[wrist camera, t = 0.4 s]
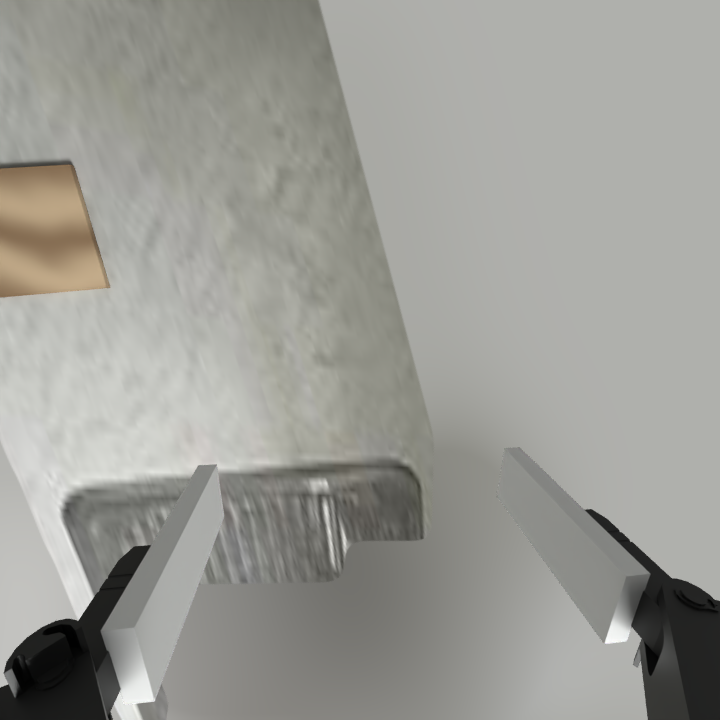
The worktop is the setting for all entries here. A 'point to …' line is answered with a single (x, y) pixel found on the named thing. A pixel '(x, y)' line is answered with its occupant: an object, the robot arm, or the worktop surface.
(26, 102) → the worktop surface
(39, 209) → the cork mat
